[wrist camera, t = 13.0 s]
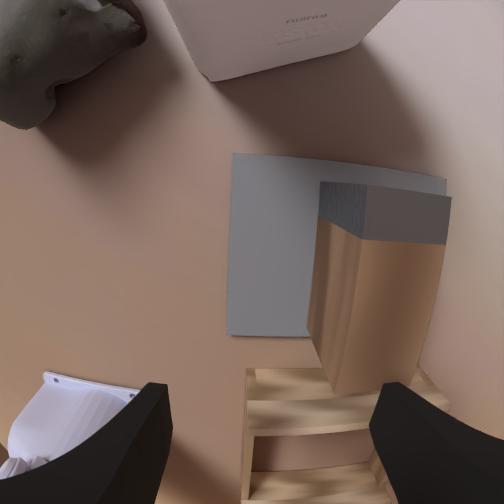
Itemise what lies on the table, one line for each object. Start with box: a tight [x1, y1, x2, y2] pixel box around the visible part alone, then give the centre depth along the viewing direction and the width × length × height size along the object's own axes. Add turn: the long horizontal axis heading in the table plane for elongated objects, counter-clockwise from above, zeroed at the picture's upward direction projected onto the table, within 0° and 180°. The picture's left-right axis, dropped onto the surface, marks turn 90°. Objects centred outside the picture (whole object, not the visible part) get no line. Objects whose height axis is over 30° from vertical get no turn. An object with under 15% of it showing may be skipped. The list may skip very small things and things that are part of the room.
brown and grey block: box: [306, 181, 452, 395], centre depth 15 cm, size 4×9×7 cm, turn 177°
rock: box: [0, 0, 147, 130], centre depth 11 cm, size 18×11×8 cm, turn 41°
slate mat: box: [226, 153, 447, 337], centre depth 19 cm, size 14×11×1 cm
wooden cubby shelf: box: [240, 364, 451, 504], centre depth 19 cm, size 13×13×6 cm
